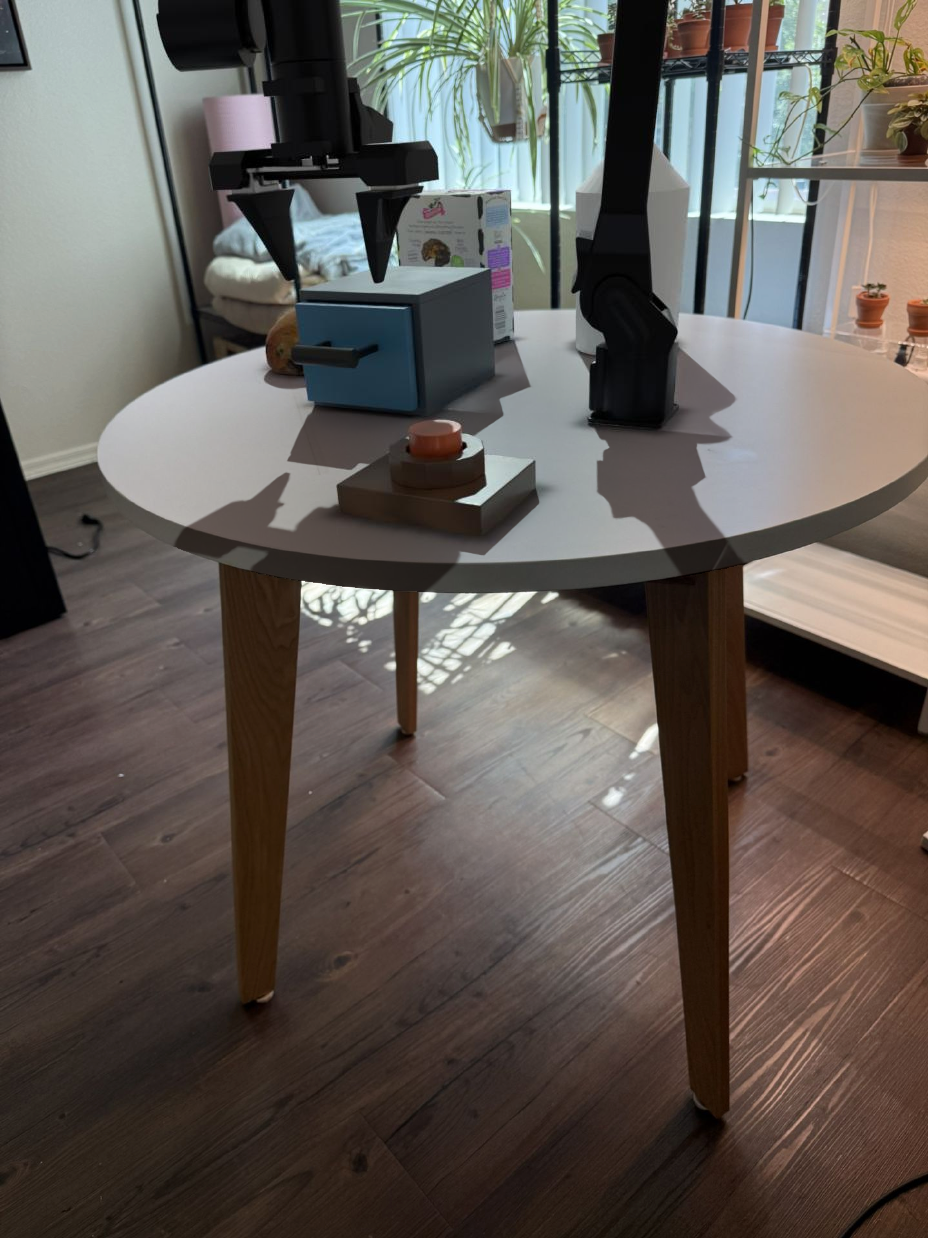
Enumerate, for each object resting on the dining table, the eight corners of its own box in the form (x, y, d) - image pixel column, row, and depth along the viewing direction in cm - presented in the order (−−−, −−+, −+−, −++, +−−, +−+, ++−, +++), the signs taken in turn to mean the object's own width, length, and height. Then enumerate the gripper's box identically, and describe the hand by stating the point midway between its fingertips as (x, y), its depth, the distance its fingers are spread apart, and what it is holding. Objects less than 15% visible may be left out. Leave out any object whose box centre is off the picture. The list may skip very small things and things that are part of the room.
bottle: (569, 336, 106) (572, 95, 93) (669, 332, 105) (685, 88, 93) (577, 359, 95) (581, 92, 83) (687, 355, 95) (708, 85, 82)
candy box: (516, 338, 106) (513, 187, 98) (485, 348, 102) (479, 192, 94) (434, 327, 114) (425, 187, 106) (402, 336, 110) (390, 191, 102)
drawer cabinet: (427, 416, 80) (418, 294, 75) (314, 404, 85) (298, 289, 80) (495, 376, 91) (491, 267, 86) (391, 368, 96) (381, 265, 91)
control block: (536, 488, 63) (535, 434, 61) (482, 537, 56) (479, 478, 54) (404, 471, 68) (399, 420, 66) (339, 514, 61) (332, 459, 59)
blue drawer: (382, 427, 75) (372, 320, 70) (275, 415, 79) (259, 314, 75) (477, 374, 89) (473, 282, 84) (381, 366, 93) (373, 279, 89)
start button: (471, 446, 61) (470, 422, 60) (447, 463, 58) (445, 438, 57) (426, 441, 62) (424, 417, 61) (400, 457, 59) (398, 432, 59)
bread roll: (367, 391, 102) (376, 321, 101) (318, 373, 92) (327, 295, 91) (296, 386, 105) (304, 318, 105) (242, 368, 96) (250, 293, 95)
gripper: (465, 56, 69) (474, 268, 76) (275, 73, 76) (301, 265, 84) (392, 51, 60) (411, 291, 68) (186, 72, 68) (224, 284, 76)
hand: (333, 281), depth 74 cm, fingers open, 9 cm apart
